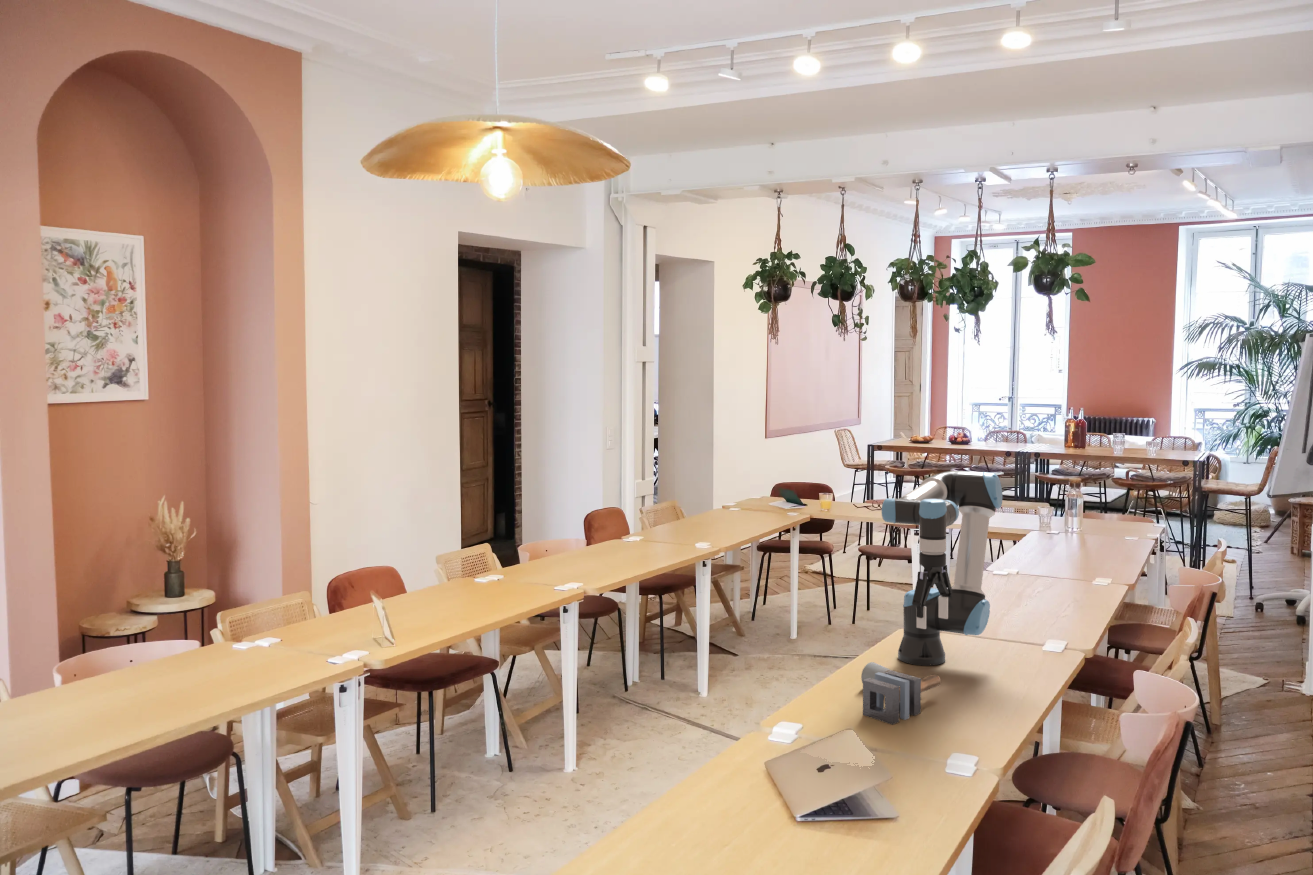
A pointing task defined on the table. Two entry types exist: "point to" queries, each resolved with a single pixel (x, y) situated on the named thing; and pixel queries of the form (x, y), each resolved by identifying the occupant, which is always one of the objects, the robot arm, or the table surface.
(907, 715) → the aperture arch
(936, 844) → the table surface
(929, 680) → the air tube
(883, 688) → the collar
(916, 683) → the square frame
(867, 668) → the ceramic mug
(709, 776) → the table surface
